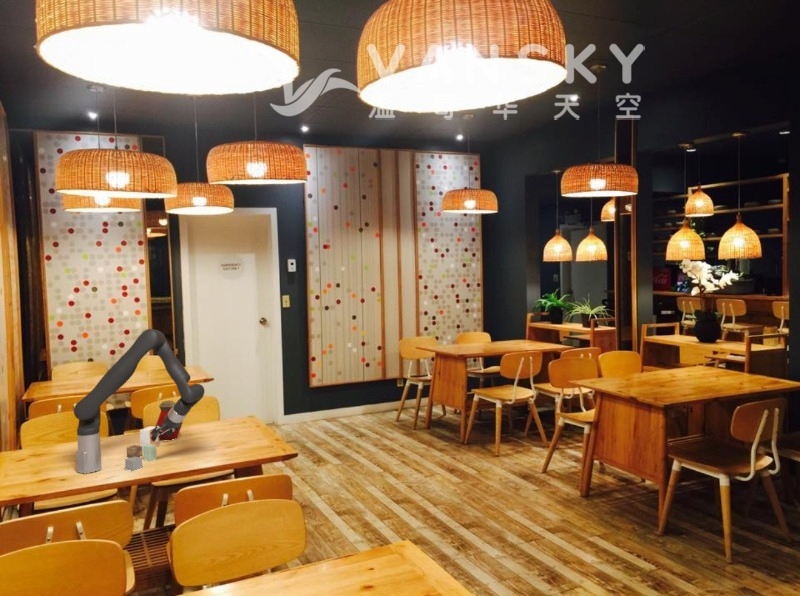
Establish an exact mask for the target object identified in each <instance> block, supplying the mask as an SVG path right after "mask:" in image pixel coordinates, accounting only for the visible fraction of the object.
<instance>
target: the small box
mask: <svg viewBox="0 0 800 596" xmlns="http://www.w3.org/2000/svg"><path fill="white" fill-rule="evenodd" d="M155 427H156V425H155V426H152V425H151V426H150V425H148V426H146V427H144V428H142V429H139V442H140V444H139V446H142V451H143V446H145V445H148V444H153V445H156V447H157V448H159V447H160V441H159V440H160V438H159V436H158V437H157V439H156V440H155V441H152V439H151V437H152V434H151V432H152V431H153V429H154V428H155ZM158 446H159V447H158Z"/></svg>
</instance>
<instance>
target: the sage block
mask: <svg viewBox="0 0 800 596" xmlns="http://www.w3.org/2000/svg"><path fill="white" fill-rule="evenodd" d="M142 454H143V461H144V460H147V461H146V462H149V461H150V462H153V461H155V460H154V459H156V460H157V448H156V445H153V444H148V445H145V446H143V450H142ZM152 460H153V461H152Z"/></svg>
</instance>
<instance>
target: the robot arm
mask: <svg viewBox="0 0 800 596" xmlns="http://www.w3.org/2000/svg"><path fill="white" fill-rule="evenodd" d="M130 346H131V347H130V348H129V349H127V351H125V352H124V354H122V356H121V357H120V358H119V359H118V360H117V361H116V362H115V363H113V365H112V366H111V367H110V368H109V369H108V370H107V372H106V373H105V374H104V375H103V376H102V377H101V378H100V380H99V381H98V382H97V384H96V385H95V386H94V388H93V389H92V390H90V392H88V393H87V394H86V395H85V396H84V397H83V398H82V399H80V401H79V400H78V402H77V403H76V404H75V406H74V409H73V415H74V417H75V418H76V419H77V420H78V425H77V428H76V433H77V434H76V435H77V451H76V452H75V457H76V458H75V459H76V473H78V472H80V474H83V473H84V475H87V474H91V473H90V472H93V473H96V472H95V471H97V472H99V471H101V470H102V450H101V449H102V448H101V434H100V433H101V431H100V430H101V429H100V427H101V417H102V416H101V406H102V405H103V404H104V403H105V402H106V401H107V400H108V399H109V398H110V397H111V396H112V395H114V394H115V393H116V392H117V391H118V390H120V389H121V388H122V387H123V386H124V385H125V384H126V383H127V382H129V381H128V380H129V379H131V377H132V376H133V375H134V373H135V372H136V370H137V369H138V368H137V367H138V365H139V364H140V363H139V362H140V361H141V360H142V359H143V358H144V357H145V356H146V355H147V353H149V352H150V351H151V350H152V351H153V352H154V353H156V355H158V357H159V358H160V360H161V361H162V362H163V365H164V368H165V370H166V372H167V374H168V376H169V377H170V378H171V379H172V381H173V382H174V383H175V386H176V388H177V391H178V393H179V395H180V398H179V399H177V401H176V402H175V403H176V404H175V405H174V406H173V407H172V408H171V410H170V411H169V412H168V414H167V415H166V416H165V418H164V423H163V424H162V425H161V426H159V425H157V426H156V425H155V426H156V427H155V428H154V429H153V431H152V432H151V434H152V437H151V439H152V441H155V440H156V439H157V437H158V436H159V435H160V434H163V433H165V432H166V431H167V432H166V435H167V437H169V436H170V435H171V434H172V432H174V431H175V430H178V429H179V428H180V426H181V427H182V424H183V421H184V420H185V419H186V417H187V415H188V414H189V412H190V411H191V410H192V408H193V407H194V406H196V405H197V404H198V403H199V402H200V400H202V399H203V397H204V395H205V388H204V386H203V385H202V384H200V383H194V384H192V385H189V381H190V380H191V375H190V374H189V372H188V371H187V370H186V368H185V367H184V365H183V364H182V363H181V361H180V360H179V359H178V358H177V356H176V354H175V353H174V351H173V350H172V348H171V346H170V344H169V342H168V339H167V338H166V336H165V335H164V333H163V332H162V331H161V330H159V329H158V330H157V329H153V328H148V329H146V330H143V331H142V332H141V333H140V334H139V336H138V337H137V338H136V340H135V341H134V342H133V344H132V345H130ZM161 429H162V430H163V432H161ZM158 433H159V434H158ZM100 469H101V470H100ZM98 470H99V471H98ZM86 473H87V474H86Z"/></svg>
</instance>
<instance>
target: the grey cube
mask: <svg viewBox="0 0 800 596" xmlns="http://www.w3.org/2000/svg"><path fill="white" fill-rule="evenodd" d="M124 463H125V464H124V465H125V466H124V467H125V470H126V469H127V470H131V471H130V472H132V471H134V470H137V469H140V468H142V469H143V457H132V458H125V459H124ZM127 470H126V471H127ZM140 470H141V469H140ZM137 471H138V470H137ZM134 472H135V471H134Z"/></svg>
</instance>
